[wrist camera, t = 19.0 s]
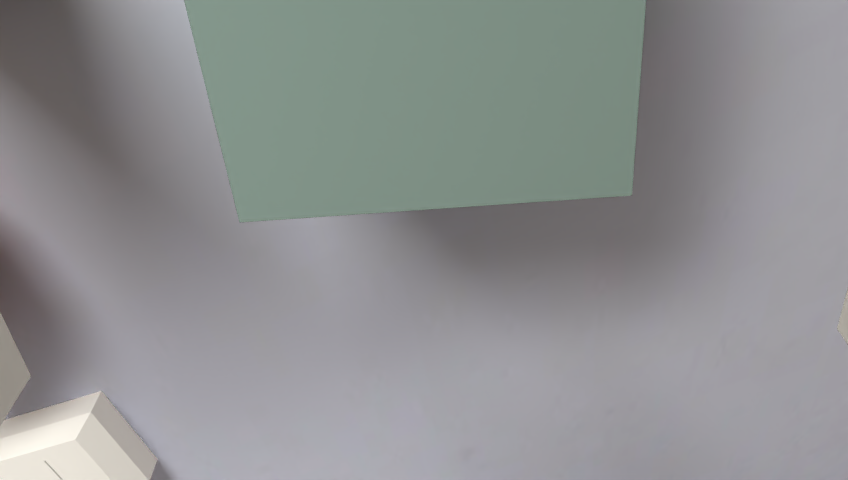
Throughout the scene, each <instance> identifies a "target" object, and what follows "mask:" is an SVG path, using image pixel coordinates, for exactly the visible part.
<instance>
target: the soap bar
mask: <svg viewBox="0 0 848 480" xmlns="http://www.w3.org/2000/svg"><path fill="white" fill-rule="evenodd" d="M157 460H158V459H157V458H156V457H155V456H154V454H153V453H152V452H151V451H150V449H149V448H148V447H147V446H146V445H145V443H144V442H143V441H142V440H141V439H140V437H139V436H138V435H137V434H136V432H135V431H134V430H133V429H132V428H131V426H130V425H129V424H128V423H127V422H126V420H125V419H124V418H123V417H122V415H121V414H120V413H119V412H118V411H117V409H116V408H115V407H114V406H113V405H112V403H111V402H110V401H109V400H108V398H107V397H106V396H105V395H104V394H103V392H102V391H99V392H96V393H93V394H89V395H86V396H83V397H79V398H76V399H73V400H69V401H66V402H63V403H59V404H56V405H52V406H49V407H46V408H42V409H39V410H36V411H32V412H29V413H26V414H22V415H19V416H16V417H12V418H9V419H6V420H4V421H3V423H2V424H1V426H0V480H150V479H151V476H152V473H153V471H154V468H155V465H156V463H157Z"/></svg>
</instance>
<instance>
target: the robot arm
mask: <svg viewBox="0 0 848 480" xmlns="http://www.w3.org/2000/svg"><path fill="white" fill-rule="evenodd" d="M837 329H838V331H839V332H840V334H841V335H842V337H843V338H844V340H845V341H846V342H847V344H848V289H847V293H846V297H845V301H844V304H843V308H842V312H841V316H840V319H839V323H838V327H837ZM30 377H31V375H30V373H29V371H28V369H27V367H26V364H25V362H24V360H23V358H22V356H21V354H20V352H19V350H18V348H17V346H16V344H15V342H14V340H13V338H12V336H11V333H10V331H9V329H8V327H7V325H6V323H5V321H4V319H3V317H2V315H1V313H0V426H1V424H2V423H3V421H4V419H5V418H6V416H7V415H8V413H9V411H10V410H11V408H12V406H13V405H14V403H15V402H16V400H17V398H18V397H19V395H20V394H21V392H22V390H23V389H24V387H25V385H26V384H27V382H28V381H29V379H30Z"/></svg>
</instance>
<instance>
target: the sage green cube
mask: <svg viewBox="0 0 848 480" xmlns="http://www.w3.org/2000/svg"><path fill="white" fill-rule="evenodd" d="M184 2H185V6H186V10H187V14H188V18H189V22H190V26H191V30H192V34H193V38H194V42H195V46H196V50H197V54H198V58H199V62H200V66H201V70H202V74H203V78H204V82H205V86H206V90H207V94H208V98H209V102H210V106H211V110H212V114H213V118H214V122H215V126H216V130H217V134H218V138H219V142H220V146H221V150H222V154H223V158H224V162H225V166H226V170H227V174H228V178H229V182H230V186H231V190H232V194H233V198H234V202H235V206H236V210H237V214H238V218H239V222H253V221H267V220H282V219H297V218H311V217H326V216H340V215H355V214H370V213H384V212H399V211H413V210H428V209H443V208H457V207H472V206H487V205H501V204H516V203H530V202H545V201H560V200H574V199H589V198H603V197H618V196H632V187H633V174H634V160H635V146H636V132H637V118H638V104H639V91H640V77H641V63H642V49H643V35H644V22H645V8H646V0H184Z"/></svg>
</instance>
